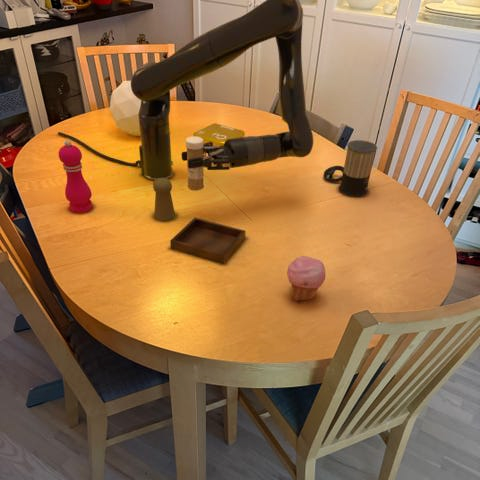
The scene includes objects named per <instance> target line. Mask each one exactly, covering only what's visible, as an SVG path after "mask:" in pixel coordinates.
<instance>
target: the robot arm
mask: <svg viewBox="0 0 480 480" xmlns="http://www.w3.org/2000/svg"><path fill="white" fill-rule="evenodd" d="M303 23H304V9H303V6H302V3H301V2H300V0H264V1H263V2H262V3H260V4H259V5H257V6H255V7H254V8H253V9H251V10H250V11H248V12H246V13H244V14H243V15H242V16H241V15H240V16H239V17H236V18H234V19H231V20H229V21H228V22H225V23H222V24H220V25H218V26H216V27H213V28H212V29H210V30H208V31H206V32H204V33H202V34H200V35H199V36H196V37H195V38H193V39H192V40H190V41H189V42H187V43H186V44H184V45H183V46H182V47H180V48H179V49H178V50H176V51H175V52H174V53H172V54H171V55H170V56H169V57H166V58H165V59H163V60H160V61H158V62H157V61H148V62H146V63H144V64H143V65H141V66H140V67H139V68H137V69H136V70H135V71H134V72H133V74H132V75H131V79H130V81H131V90H132V92H133V94H134V95H135V96H136V97H137V98H138V99H140V100H141V105H140V110H139V113H138V118H139V126H140V144H141V145H139V146H138V151H139V160H136V161H135V162H127V161H124V160H121V159H117V158H114V157H111V156H109V155H106V154H104V153H101V152H100V151H97V150H96V149H94V148H93V147H91V146H89V145H87V144H86V143H85V142H84V141H81V140H80V139H78V138H76V137H74V136H72V135H69V134H66V133H64V132H60V131H58V132H57V135H58V136H62V137H65V138H68V139H69V140H72V141H75V142H76V143H78V144H80V145H81V146H83V147H84V148H86V149H87V150H88V151H90V152H92V153H94V154H95V155H97V156H99V157H101V158H104V159H106V160H108V161H112V162H114V163H118V164H122V165H124V166H129V167H139V169H140V171H141V175H142V176H144V177H145V178H146V179H148V180H152V181H155V180H157V179H159V178H165V179H168V180H169V179H170V178H171V177H173V174H174V173H173V165H174V163H173V160H172V147H171V145H172V144H171V129H170V112H171V95H170V94H171V90H173V89H175V88H176V87H178V86H180V85H183V84H185V83H188V82H192V81H194V80H196V79H198V78H201V77H203V76H206V75H209V74H211V73H213V72H215V71H218V70H220V69H222V68H223V67H226V66H228V65H230V64H231V63H232V62H234V61H235V60H237V59H238V58H240V56H242V55H243V54H244V53H245V52H246V51H248V50H249V49H251V48H252V47H254V46H256V45H258V44H260V43H263V42H266V41H269V40H271V39H275V43H276V46H277V52H278V70H279V71H278V100H279V108H280V116H281V120H282V121H283V122H284V123H286V124H287V127H288V131H283V132H277V133H274V134H263V135H255V136H253V135H248V136H244V137H240V138H233V139H227V140H226V141H225V144H224V145H223V146H218V145H216V146H213V142H208V143H204V144H203V158H194V159H188V167H189V168H196V167H203V169H206V170H207V171H229V170H230V169H235V168H241V167H247V166H254V165H257V164H260V163H268V162H272V161H275V160H278V159H280V158H305V157H307V156H308V155H310V154H311V152H312V150H313V147H314V134H313V130H312V126H311V123H310V119H309V116H308V114H307V104H306V92H305V83H304V72H303V58H302V40H303V39H302V38H303ZM181 160H182V161H183V162H185V161H186V162H187V150H186V151H182V152H181Z"/></svg>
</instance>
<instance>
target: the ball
mask: <svg viewBox="0 0 480 480" xmlns="http://www.w3.org/2000/svg"><path fill="white" fill-rule="evenodd" d="M110 95H111V96H110V103H109V113H110V115H111V117H112V120H113V121H114V123H115V126H116V128H118V129H119V130H121V131H123V132H124V133H126V134H128V135H129V136H131V137H139V136H140V126H139V118H138V113H139V110H140V105H141V100H140V99H138V98H137V97H136V96H135V95H134V94H133V92H132V90H131V80H123V81H122V82H121V83H120V84H119V85H118V86H117V87H116V88H115V89H114V90H113V91H112V92H111V94H110ZM140 137H141V136H140Z"/></svg>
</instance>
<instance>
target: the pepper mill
mask: <svg viewBox="0 0 480 480" xmlns="http://www.w3.org/2000/svg"><path fill="white" fill-rule="evenodd" d="M63 144H64V145H63V146H61V147H60V148H59V150H58V159H59V161H60V162H61V163H62V167H63V170H64V172H65V174H66V183H65V189H64V194H65V198H66V201H68V205H69V209H70V211H71V212H72V213H75V214H76V213H77V214H83V213H87V212H89V211H91V210H92V209H93V203H92V200H91V198H92V195H93V193H92V191H91V188H90V186H89V184H88V183H87V181H86V180H85V178H84V175H83V172H82V169H83V165H82V164H83V163H82V162H81V161H82V159H83V154H82V151H81V149H80V148H79V147H78V146H76V145H74V144H72V141H71V139H65V140H64V142H63Z"/></svg>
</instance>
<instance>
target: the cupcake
mask: <svg viewBox="0 0 480 480" xmlns="http://www.w3.org/2000/svg"><path fill="white" fill-rule="evenodd" d="M286 275H287V278H288V282H289V283H290V285H291V290H292V291H291V293H292V295H291V296H292V298H293V300H295V301H299V302H300V301H308V300H309V301H310V300H311V299H313V298H314V297H315V295H316V294H317V292H318V289H319V288H320V287H321V286H322V285H323V284H324V282H325V280H326V268H325V265H324V263H323V262H322V261H321V260H320V259H317V258H314V257H312V256H307V255H306V256H305V255H301V256H299V257H296V258H295V259H294V260H292V261H291V262H290V263H289V264H288V267H287V271H286Z"/></svg>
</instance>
